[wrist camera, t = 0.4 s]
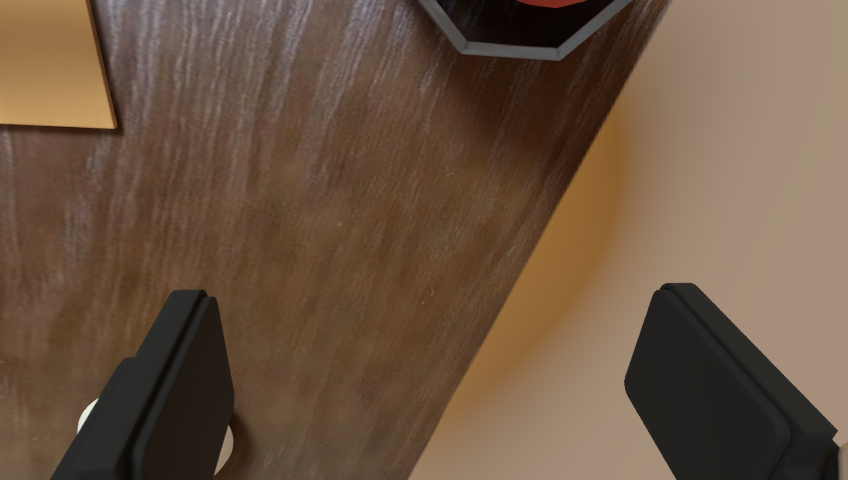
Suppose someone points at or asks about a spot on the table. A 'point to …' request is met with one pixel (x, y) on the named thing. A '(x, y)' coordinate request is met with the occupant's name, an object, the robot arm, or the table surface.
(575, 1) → the beer can
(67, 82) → the cork mat
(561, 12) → the black octagonal pot
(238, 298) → the table surface
